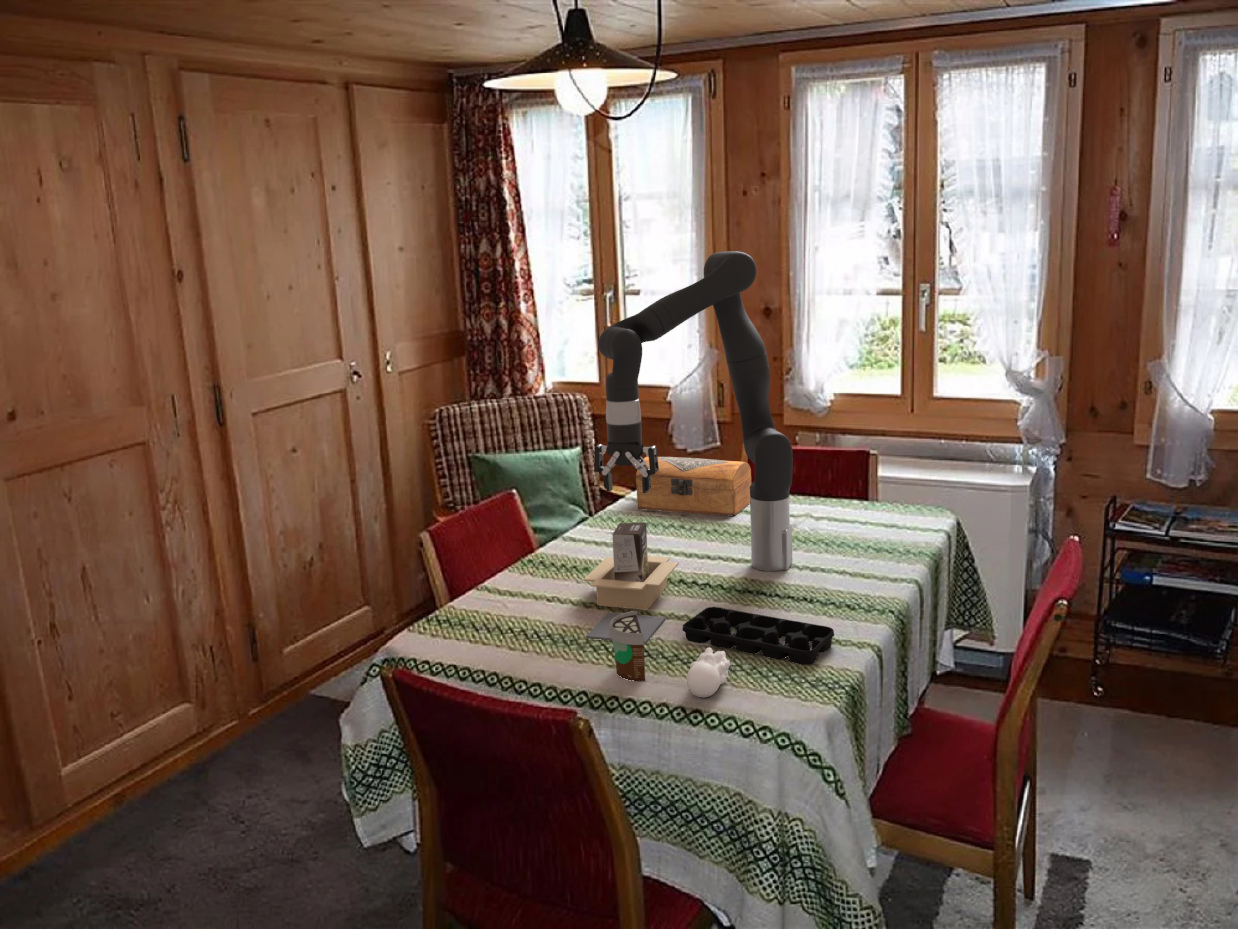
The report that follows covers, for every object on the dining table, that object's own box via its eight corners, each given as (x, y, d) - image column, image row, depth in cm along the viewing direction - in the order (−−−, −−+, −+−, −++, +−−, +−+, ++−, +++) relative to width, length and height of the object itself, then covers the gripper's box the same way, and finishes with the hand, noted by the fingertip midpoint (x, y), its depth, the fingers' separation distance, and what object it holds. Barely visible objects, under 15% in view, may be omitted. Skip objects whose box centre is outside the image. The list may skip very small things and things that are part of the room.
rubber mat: (665, 620, 229) (665, 617, 229) (645, 644, 217) (645, 641, 217) (608, 615, 233) (608, 612, 233) (586, 638, 222) (585, 635, 221)
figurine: (671, 686, 192) (692, 654, 203) (697, 713, 192) (717, 680, 203) (697, 665, 189) (717, 634, 200) (723, 692, 189) (742, 660, 199)
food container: (608, 660, 211) (605, 612, 208) (639, 657, 211) (636, 609, 209) (613, 687, 199) (610, 637, 197) (646, 684, 199) (643, 634, 197)
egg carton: (824, 670, 202) (824, 652, 201) (672, 654, 213) (671, 636, 212) (840, 634, 218) (840, 617, 217) (698, 621, 229) (697, 604, 228)
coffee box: (643, 603, 239) (639, 534, 235) (615, 603, 240) (611, 534, 236) (650, 588, 247) (647, 521, 243) (623, 588, 249) (619, 521, 245)
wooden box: (634, 510, 310) (632, 463, 306) (657, 495, 324) (655, 450, 321) (733, 519, 297) (731, 470, 293) (752, 502, 311) (751, 456, 308)
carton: (683, 582, 250) (682, 558, 249) (655, 616, 231) (654, 589, 230) (612, 577, 256) (611, 553, 255) (580, 609, 237) (578, 583, 236)
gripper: (660, 416, 235) (663, 488, 239) (599, 415, 240) (603, 485, 244) (649, 424, 228) (652, 497, 232) (586, 422, 233) (591, 494, 237)
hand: (627, 491), depth 238 cm, fingers open, 8 cm apart
